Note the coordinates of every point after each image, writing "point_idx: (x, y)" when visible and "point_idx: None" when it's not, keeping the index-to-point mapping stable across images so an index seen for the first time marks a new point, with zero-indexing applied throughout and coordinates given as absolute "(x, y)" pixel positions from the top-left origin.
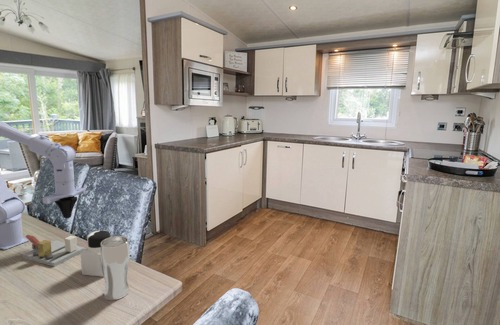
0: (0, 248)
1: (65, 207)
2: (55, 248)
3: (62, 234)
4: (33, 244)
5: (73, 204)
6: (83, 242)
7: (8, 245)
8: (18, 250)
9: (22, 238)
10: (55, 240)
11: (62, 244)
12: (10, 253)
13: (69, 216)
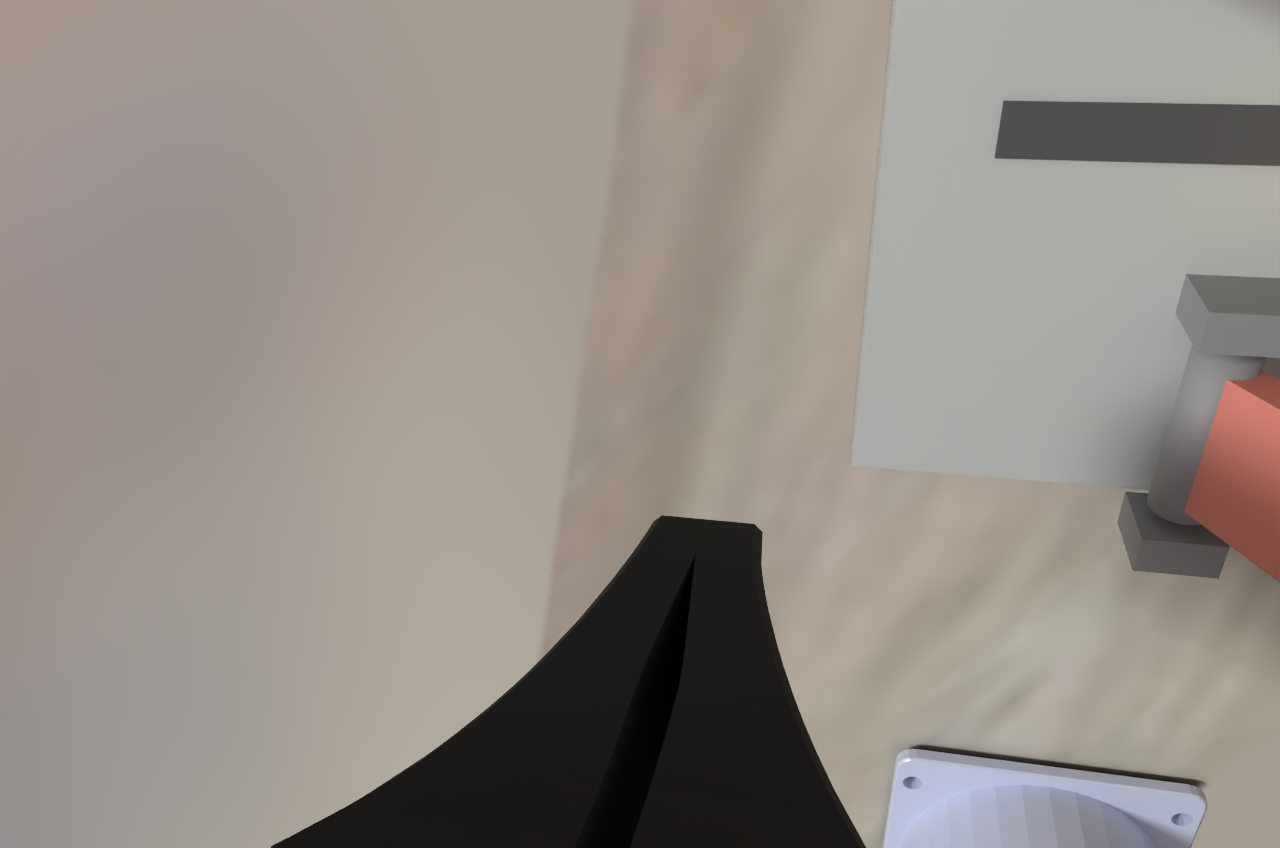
0: (1187, 842)
1: (832, 799)
2: (1114, 229)
3: (601, 563)
4: (1219, 556)
5: (498, 756)
6: (659, 69)
7: (1129, 823)
8: (1170, 670)
9: (959, 818)
10: (856, 460)
11: (945, 249)
12: (1269, 687)
13: (703, 536)
